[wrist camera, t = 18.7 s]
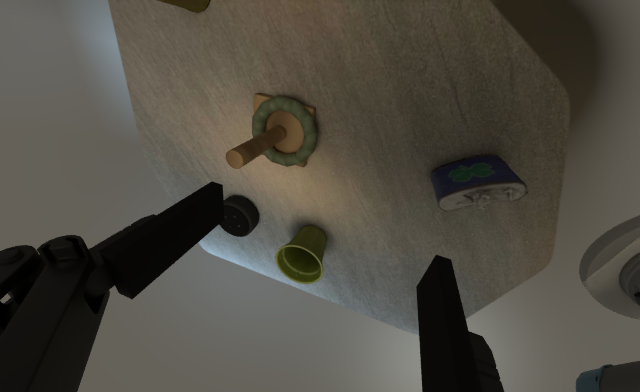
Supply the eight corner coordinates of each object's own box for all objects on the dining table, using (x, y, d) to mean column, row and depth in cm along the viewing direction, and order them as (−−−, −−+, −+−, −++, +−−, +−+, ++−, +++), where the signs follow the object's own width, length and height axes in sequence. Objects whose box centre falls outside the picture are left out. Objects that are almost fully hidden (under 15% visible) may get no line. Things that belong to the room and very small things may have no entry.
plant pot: (289, 243, 53) (272, 271, 46) (296, 211, 48) (278, 238, 41) (327, 259, 52) (316, 290, 45) (339, 228, 47) (328, 258, 40)
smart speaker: (253, 234, 55) (243, 245, 52) (221, 213, 55) (209, 223, 52) (265, 209, 50) (256, 220, 47) (230, 187, 50) (218, 195, 47)
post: (316, 107, 37) (275, 130, 25) (306, 164, 42) (269, 205, 30) (258, 92, 38) (194, 107, 26) (256, 149, 44) (202, 182, 32)
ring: (323, 106, 35) (320, 108, 33) (311, 170, 41) (307, 175, 39) (257, 88, 36) (250, 89, 35) (255, 153, 42) (249, 156, 41)
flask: (432, 183, 37) (442, 221, 28) (428, 167, 36) (437, 201, 27) (501, 167, 33) (539, 206, 24) (499, 149, 32) (537, 181, 23)
